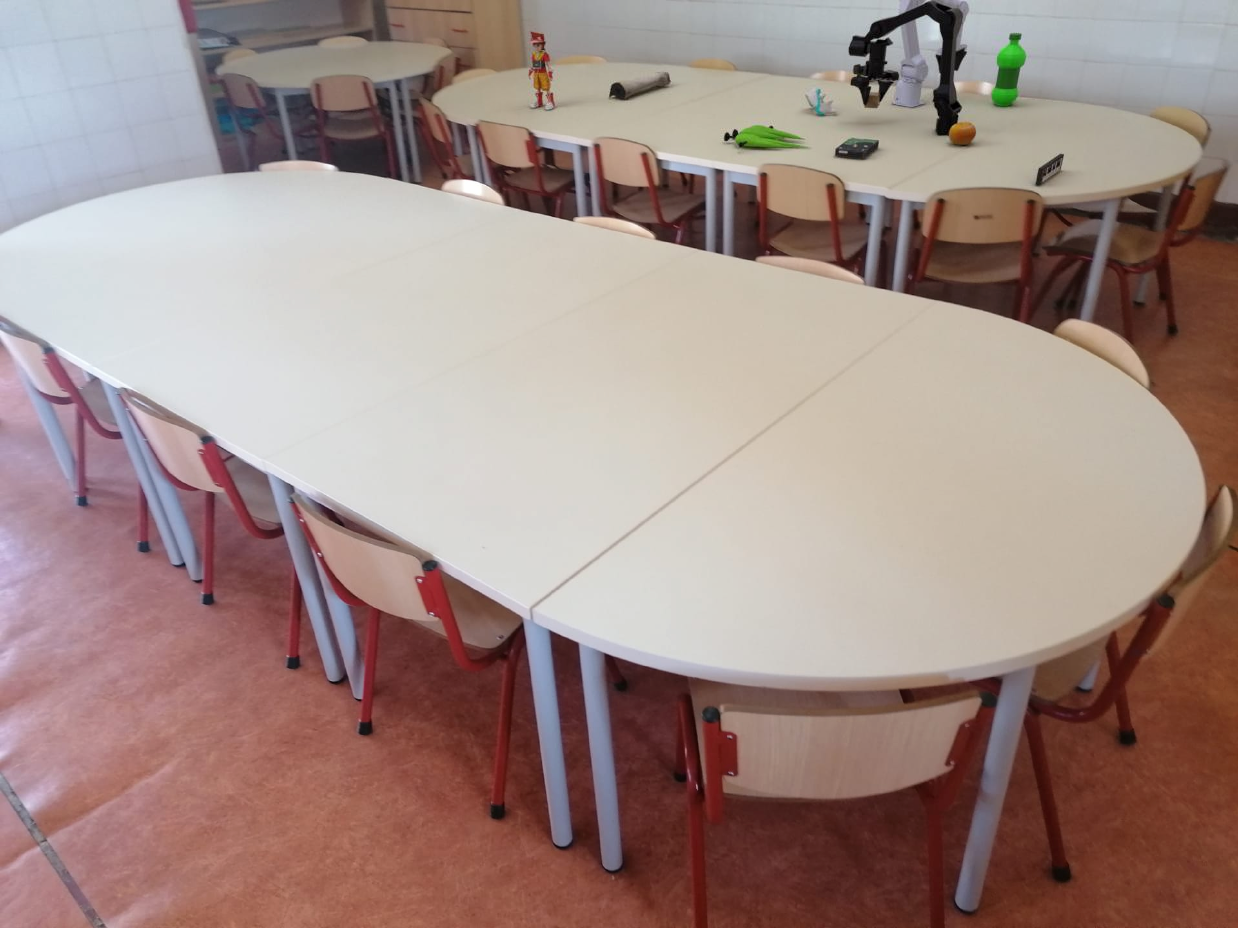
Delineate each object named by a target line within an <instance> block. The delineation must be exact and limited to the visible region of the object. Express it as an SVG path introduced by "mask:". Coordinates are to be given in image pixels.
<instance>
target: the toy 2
mask: <svg viewBox="0 0 1238 928" xmlns="http://www.w3.org/2000/svg"><path fill="white" fill-rule="evenodd" d="M730 139H734V142H735V143H736V144H737V145H738V147H739V148H743V147H752V148H753V147H758V148H762V147H763V148H807V146H806V145H800V144H796V143H790V142H786V141H782V140H783V139H791V140H804V141H806V138H804V137H801V136H798V135H796V134H792V133H789V132H787V131H782V130H778V129H775V128H774V126H773V125H769V126H768V127H767V126H765V125H762V124H761V125H760V124H757V125H752V126H748V127H745V128H743V129H741V131H738V129H737V128H734V129H733V130H732V133H731V134H730V133H729V132H728V131H726V132H725V133H724V136H723V141H724V142H728V141H730Z"/></svg>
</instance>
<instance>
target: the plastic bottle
mask: <svg viewBox="0 0 1238 928" xmlns="http://www.w3.org/2000/svg"><path fill="white" fill-rule="evenodd" d="M1008 40H1009V43H1008V44H1007V45H1006V46H1004V47H1003V48H1002V49H1000V50H999V52H998V53H997V55H996V65H997V67H998V69H997V75H996V81H995V82H996V83H995V86H994V87H993V89H992V90H991V100H992V102H993V103H994V104H995V105H996V106H998V107H1009V106H1011V105H1012V104H1013V103H1014V102H1016V100H1017V99H1018V96H1019V90H1018V83H1019V79H1020V78H1019V77H1020V74H1021V73H1020V72H1021V68H1022V67H1023V66H1024V65H1025V63H1026V59H1027V54H1026V53H1027V52H1026V50H1025V49H1024V48H1023V47H1022V46H1021V45H1020V43H1019V42H1020V41H1021V40H1022V33H1020V32H1011V33H1009V37H1008Z"/></svg>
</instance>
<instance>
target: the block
mask: <svg viewBox="0 0 1238 928" xmlns="http://www.w3.org/2000/svg"><path fill="white" fill-rule="evenodd" d="M880 96H881V93H880V92H879V91H878V92H877V91H876V92H875V91H870V94H869V98H868V101H867V104H866V105H864V104H863V108H864V109H878V108H879V106H880V105H881V104H880V103H881V102H880Z"/></svg>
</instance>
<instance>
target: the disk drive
mask: <svg viewBox="0 0 1238 928" xmlns="http://www.w3.org/2000/svg"><path fill="white" fill-rule="evenodd" d="M879 145H880V140H879V139H870V138H869V139H868V138H855V137H850V138H848V139H846V140H845V141H844V142H843V143H841V144H840V145H838V146H837V147H835V151H834V156H836V157H842V158H849V159H865V158H867V157H868V156H870V155H871V154H872V153H873V152H875V151H876V150H877V149H878V148H879Z"/></svg>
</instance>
